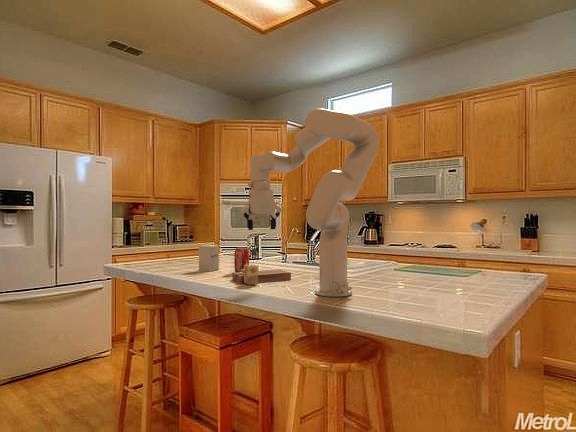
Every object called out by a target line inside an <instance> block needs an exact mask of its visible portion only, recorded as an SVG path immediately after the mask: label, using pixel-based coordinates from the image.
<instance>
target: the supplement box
mask: <svg viewBox="0 0 576 432" xmlns="http://www.w3.org/2000/svg"><path fill="white" fill-rule="evenodd" d="M219 248H220V247H219V245H216V244H215V245H210V244H209V245H208V244H207V245H199V246H198V271H199V272H207V273H209V272H210V273H211V272H214V271H219V268H220V267H219V265H220V264H219V263H220V259H219V258H220V257H219V256H220V255H219V254H220V252H219V251H220V249H219Z"/></svg>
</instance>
